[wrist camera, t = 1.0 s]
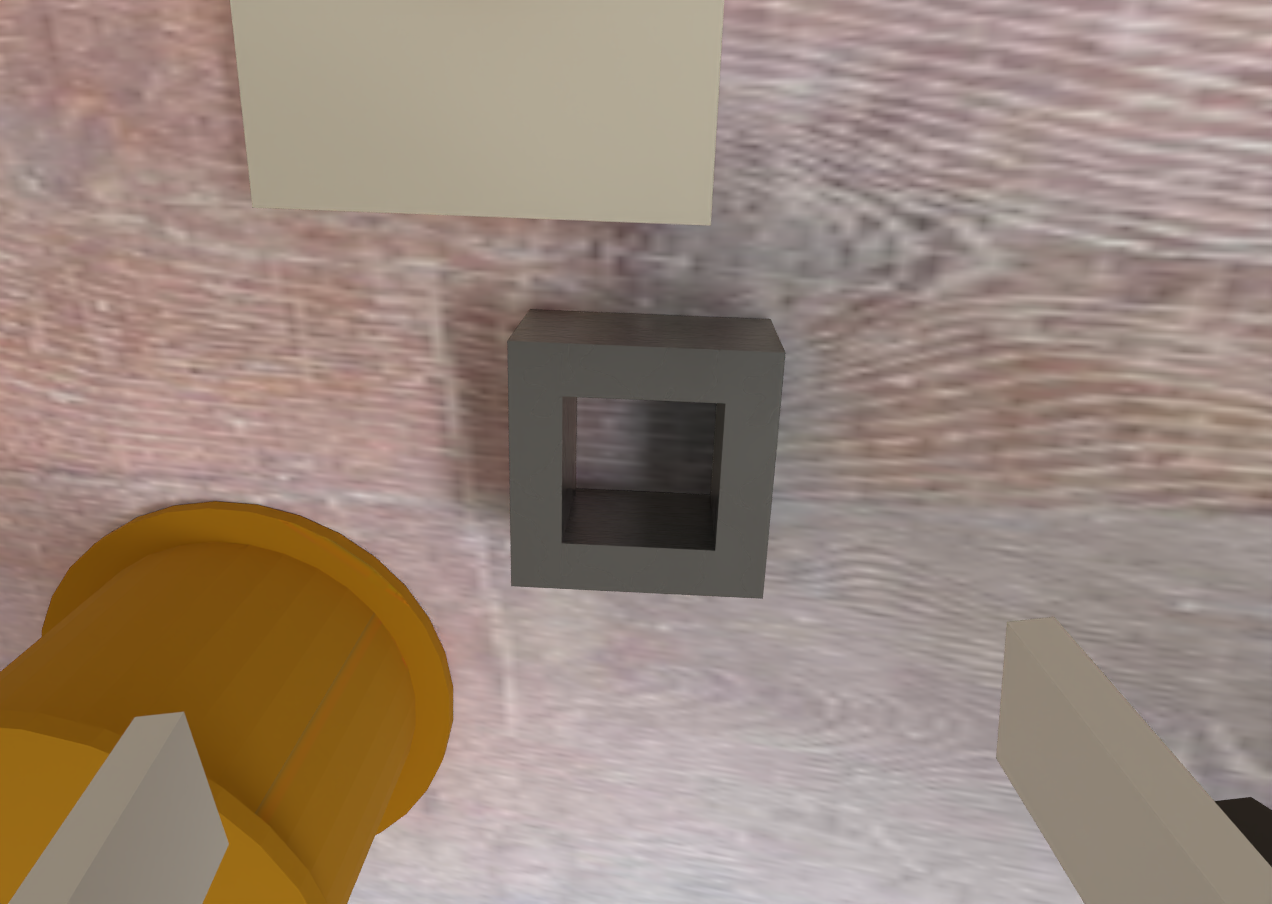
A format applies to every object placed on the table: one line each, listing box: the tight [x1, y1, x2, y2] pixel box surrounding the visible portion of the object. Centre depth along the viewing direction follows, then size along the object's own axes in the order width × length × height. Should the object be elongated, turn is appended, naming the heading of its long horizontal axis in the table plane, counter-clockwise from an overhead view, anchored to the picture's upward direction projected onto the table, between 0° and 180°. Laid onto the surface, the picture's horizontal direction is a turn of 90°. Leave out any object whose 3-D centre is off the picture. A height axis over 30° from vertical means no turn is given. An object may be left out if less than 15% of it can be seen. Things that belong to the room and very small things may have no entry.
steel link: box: [507, 309, 785, 599], centre depth 34 cm, size 9×9×5 cm
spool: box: [0, 501, 453, 904], centre depth 34 cm, size 18×18×15 cm
